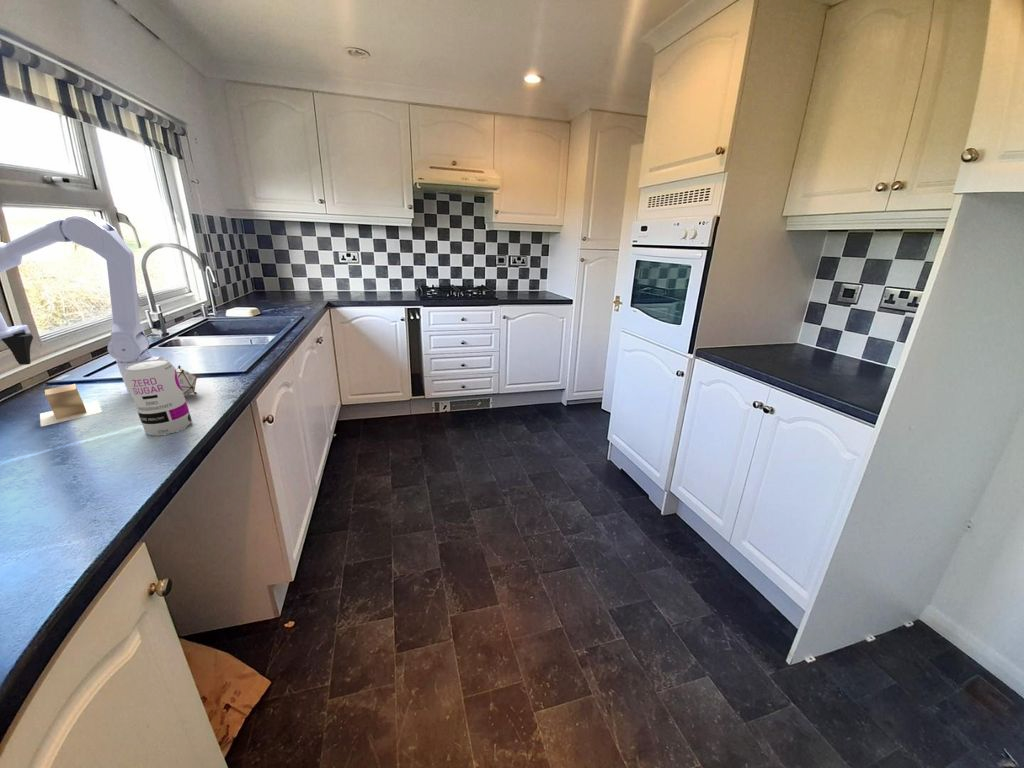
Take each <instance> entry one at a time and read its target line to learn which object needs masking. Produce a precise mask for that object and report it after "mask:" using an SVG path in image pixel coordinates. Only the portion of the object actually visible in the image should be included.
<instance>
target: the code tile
mask: <svg viewBox="0 0 1024 768" xmlns="http://www.w3.org/2000/svg"><path fill="white" fill-rule="evenodd" d="M83 404H84V406H85V409H86V413H82V414H78V415H73V416H69V417H65V418H60V419H56V417H55V415H54V413H53V411H52V410H51V411H46V412H42V413H39V420H40V427H45V426H49V425H53V424H54V425H55V424H58V423H63V422H67V421H71V420H75V419H79V418H84V417H87V416H92V415H96V414H100V413H103V411H102V408H101V406H100V403H99V401H98V400H96V401H91V402H86V403H83Z"/></svg>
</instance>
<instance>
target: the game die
mask: <svg viewBox="0 0 1024 768" xmlns="http://www.w3.org/2000/svg"><path fill="white" fill-rule="evenodd" d="M175 369H176V372H177V375H178V379H179V382H180V385H181V388H182V391H183V394H184V397H185V396H188V395H191V394H195V395H197V394H198V392H196V391H195V389H196V385H197V379H198V378H200V377H201V374H198V375H195V374H193V373H191V372H188V370H184V369H182V367H181V365H180V364H179V365H178V366H177V368H175Z"/></svg>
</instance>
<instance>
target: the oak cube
mask: <svg viewBox="0 0 1024 768" xmlns="http://www.w3.org/2000/svg"><path fill="white" fill-rule="evenodd" d="M44 395H45V398H46V399H47V402H48V404H49V406H50V408H51V411H53V413H54V415H55V417H56V419H60V418H65V417H69V416H73V415H78V414H82V413H86V409H85V406H84V404H85V403H84V402H83V400H82V396H81V394H80V391H79V389H78V387H77V386H76V383H73V384H68V385H63V386H58V387H53V388H48V389H44Z"/></svg>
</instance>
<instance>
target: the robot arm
mask: <svg viewBox="0 0 1024 768" xmlns="http://www.w3.org/2000/svg"><path fill="white" fill-rule="evenodd" d="M119 234H120V233H118V230H117V228H116V227H114V226H112V225H111V224H110V223H108V222H107V221H105V220H104V219H102V218H100V217H98V216H89V215H88V216H81V215H70V216H67V217H66V218H65V219H58V220H53V221H51V222H48V223H47V224H45V225H42V226H39V227H38V228H36V229H34V230H32V231H30V232H28V233H26V234H23V235H22V236H19V237H17V238H15V239H13V240H11V241H9V242H7V243H5V242H2V241H0V274H2V273H4V272H6V271H8V270H11V269H13V268H15V267H18V266H20V265H21V264H22V260H23V256H25V255H28V254H31V253H33V252H35V251H39V250H41V249H43V248H45V247H48V246H51V245H52V244H56V243H58V242H63V243H64V242H65V243H68V242H73V243H75V244H77V245H80V246H82V247H84V248H86V249H89V250H91V251H93V252H94V253H96V254H97V255H99V256H100V257H101V258H103V259H104V260H105V261H106V267H107V269H106V270H107V275H108V285H109V286H108V287H109V294H110V295H109V296H110V306H111V314H112V315H111V316H112V322H113V324H112V328H111V331H110V337H111V338H110V341H109V342H108V344H107V348H106V349H107V352H108V354H109V356H110V357H111V358H113V359H114V360H115V363H116V365H117V368H118V371H119V373H120V376H121V378H122V381H123V383H124V386H125V388H126V389H125V390H124V391H122V392H121V393H120V395H131V393H130V391H129V388H128V385H127V383H126V380H125V377H124V374H125V371H126V367H127V366H129V365H131V364H134V363H138V362H142V361H148V360H156V359H165V358H164V357H163V356H154V355H152V352H150V351H149V350H148V348H149V347H150V340H149V337H148V336H147V335H146V333H145V329H144V328H145V327H144V326H143V324H142V323H141V322H140V321H141V319H140V309H139V299H138V286H137V278H136V277H137V276H136V265H135V256H134V252H133V251H132V249H131V248H130V247H129V246H128V244H127V243H126V242H125V241H124V239H123V238H122V237H121V235H119ZM0 340H1V341H2V342H3V343H4V344H5V345H6V346H7V348H8V349H9V351H11V353H12V355H13V357H14V358H15V361H16V362H17V363H18V365H20V366H22V365H23V366H25V365H26V366H27V365H31V347H32V342H33V340H34V337H33V334H32V333H31V331H30V329H29V326H28V325H27V324H18V325H12V326H8V324H7V322H6V321H5V318H4V317H3V314H2V312H1V311H0Z"/></svg>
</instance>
